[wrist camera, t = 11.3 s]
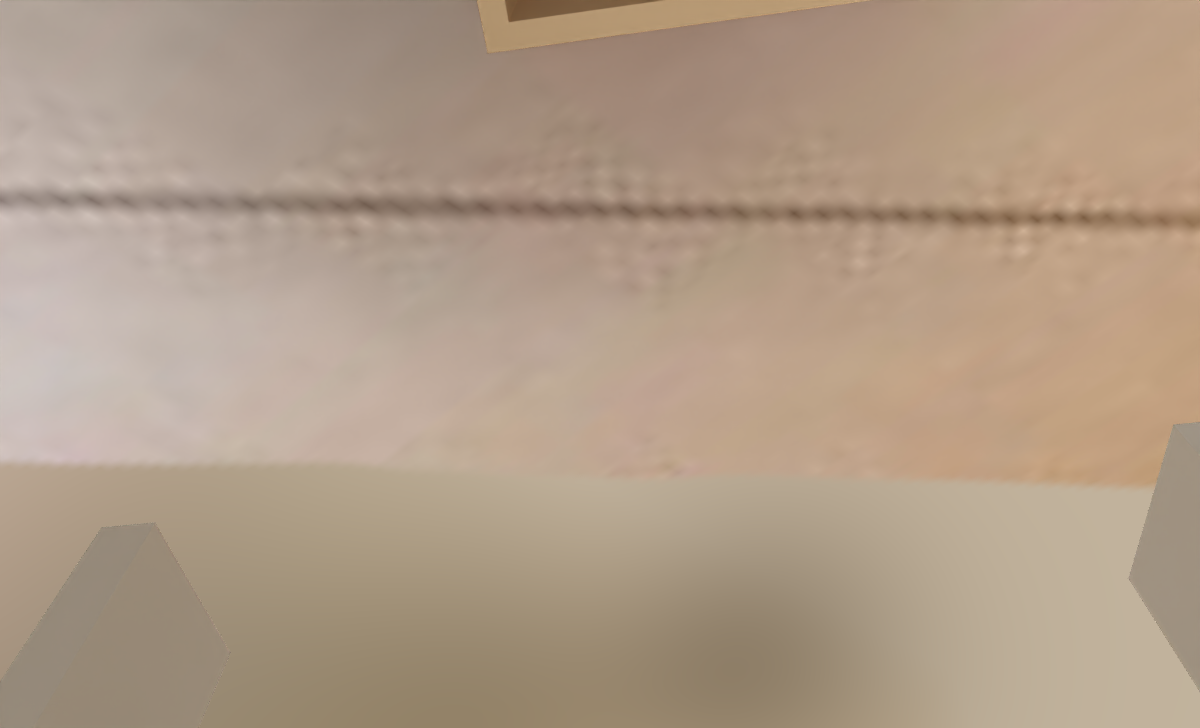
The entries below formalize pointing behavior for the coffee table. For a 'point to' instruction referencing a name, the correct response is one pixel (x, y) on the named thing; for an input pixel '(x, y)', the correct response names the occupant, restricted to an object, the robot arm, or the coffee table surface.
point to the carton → (612, 17)
